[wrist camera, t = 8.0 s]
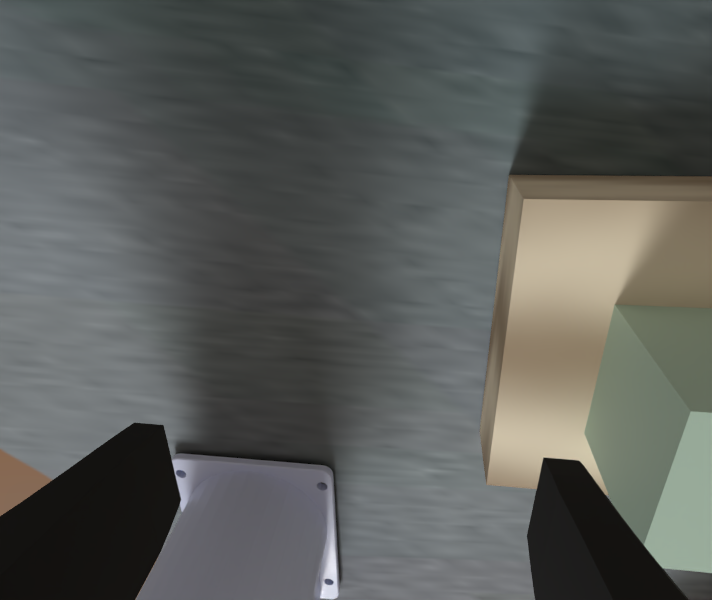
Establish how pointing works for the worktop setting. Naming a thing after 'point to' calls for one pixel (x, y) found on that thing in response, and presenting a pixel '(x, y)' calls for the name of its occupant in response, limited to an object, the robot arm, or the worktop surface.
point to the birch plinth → (579, 302)
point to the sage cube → (658, 429)
